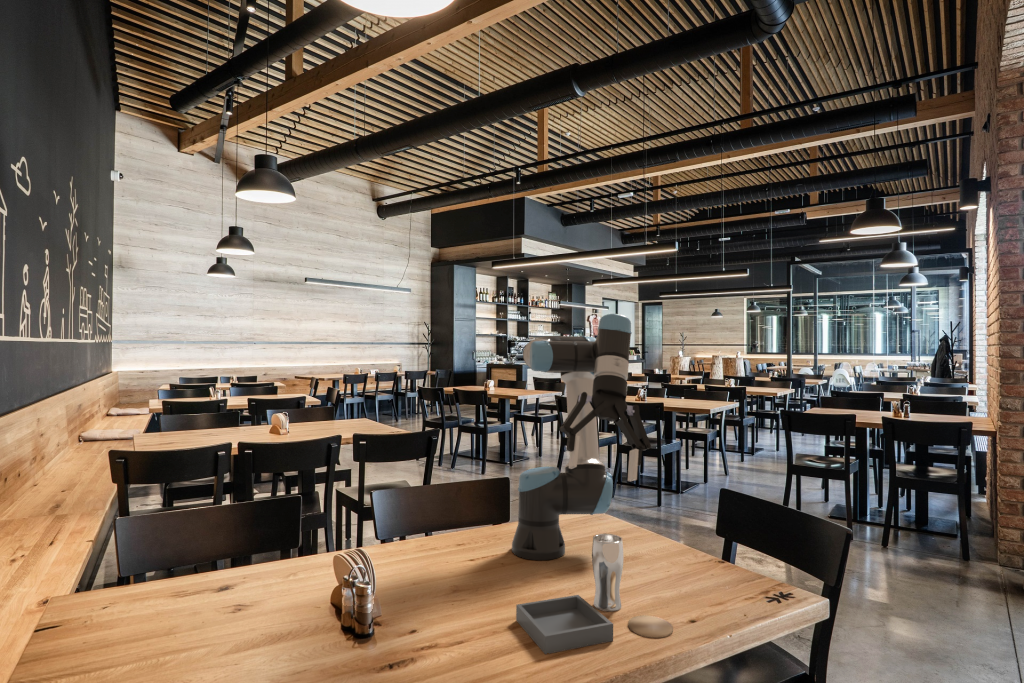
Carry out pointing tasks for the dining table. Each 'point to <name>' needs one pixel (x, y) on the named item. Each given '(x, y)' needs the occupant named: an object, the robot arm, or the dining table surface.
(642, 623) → the coaster
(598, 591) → the beer glass
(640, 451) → the robot arm
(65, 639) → the dining table surface
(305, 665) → the dining table surface
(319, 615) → the dining table surface
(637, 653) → the dining table surface
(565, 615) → the tray
